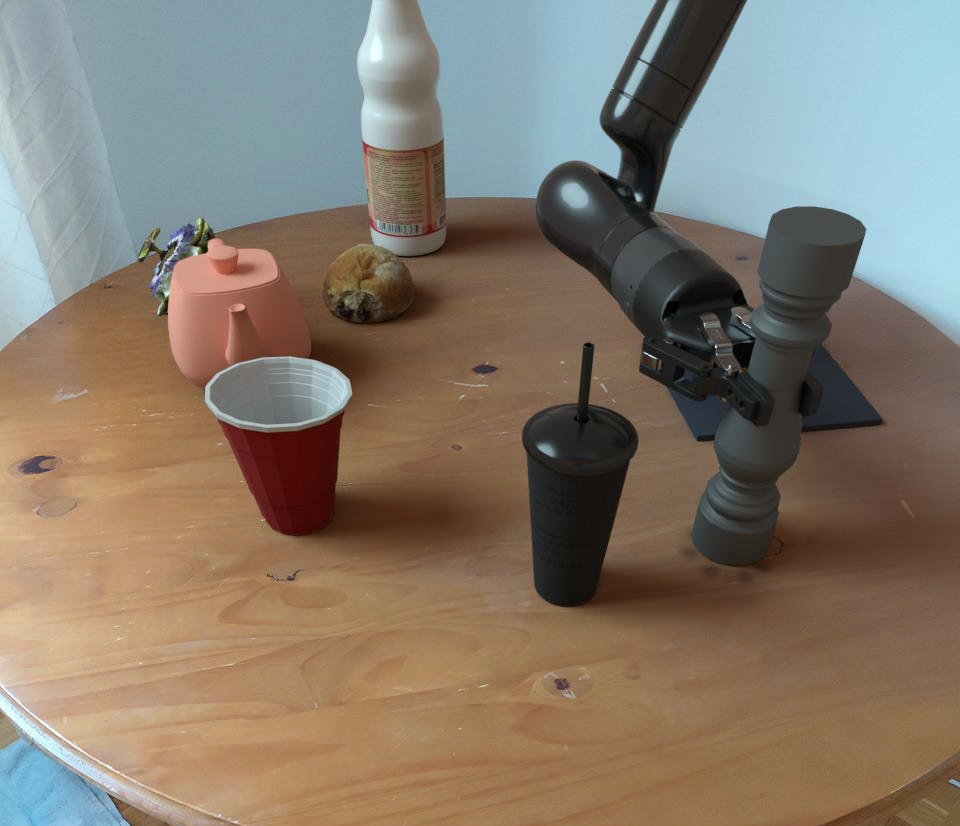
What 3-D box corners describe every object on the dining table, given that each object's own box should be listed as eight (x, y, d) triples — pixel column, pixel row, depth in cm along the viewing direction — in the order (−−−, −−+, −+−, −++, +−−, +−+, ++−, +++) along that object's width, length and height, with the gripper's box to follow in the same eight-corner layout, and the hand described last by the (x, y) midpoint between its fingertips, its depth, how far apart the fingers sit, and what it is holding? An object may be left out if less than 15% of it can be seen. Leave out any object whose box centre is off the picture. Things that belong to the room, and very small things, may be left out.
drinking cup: (543, 632, 65) (562, 389, 50) (499, 568, 70) (505, 329, 55) (634, 602, 67) (677, 361, 52) (585, 542, 72) (612, 305, 57)
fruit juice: (393, 264, 107) (372, -22, 86) (358, 236, 112) (330, -39, 92) (460, 246, 110) (456, -33, 89) (423, 220, 115) (410, -49, 95)
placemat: (805, 331, 95) (807, 325, 95) (881, 424, 83) (883, 418, 83) (643, 343, 94) (643, 337, 93) (696, 441, 81) (697, 434, 81)
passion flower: (183, 357, 102) (138, 251, 99) (272, 326, 103) (230, 220, 100) (165, 347, 91) (114, 227, 88) (265, 312, 92) (218, 192, 89)
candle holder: (770, 570, 69) (877, 251, 51) (690, 560, 70) (767, 243, 52) (767, 519, 74) (864, 208, 55) (691, 511, 74) (763, 201, 56)
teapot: (192, 441, 82) (157, 315, 73) (171, 338, 94) (139, 221, 86) (335, 415, 84) (317, 291, 76) (296, 318, 97) (277, 203, 88)
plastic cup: (393, 512, 74) (381, 384, 66) (289, 574, 69) (261, 444, 60) (313, 458, 80) (292, 333, 71) (210, 512, 74) (174, 385, 66)
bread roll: (422, 339, 101) (442, 266, 98) (357, 332, 94) (375, 253, 90) (365, 310, 106) (381, 240, 103) (298, 301, 98) (313, 225, 95)
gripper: (597, 260, 66) (708, 377, 55) (762, 234, 69) (899, 340, 58) (588, 352, 72) (688, 475, 61) (742, 324, 75) (863, 437, 64)
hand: (790, 408), depth 60 cm, fingers closed on candle holder, 3 cm apart
